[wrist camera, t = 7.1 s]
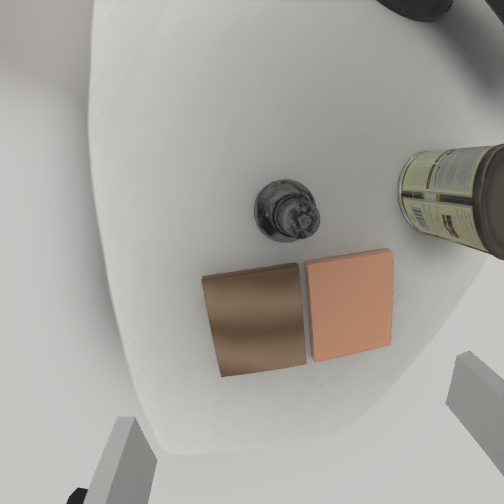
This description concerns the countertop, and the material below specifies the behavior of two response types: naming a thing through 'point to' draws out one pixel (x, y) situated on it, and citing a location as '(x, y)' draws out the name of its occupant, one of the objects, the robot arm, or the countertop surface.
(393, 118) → the countertop surface
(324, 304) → the taller pad
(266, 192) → the dark chess piece
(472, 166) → the coffee can
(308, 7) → the countertop surface
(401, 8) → the robot arm
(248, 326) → the shorter pad
